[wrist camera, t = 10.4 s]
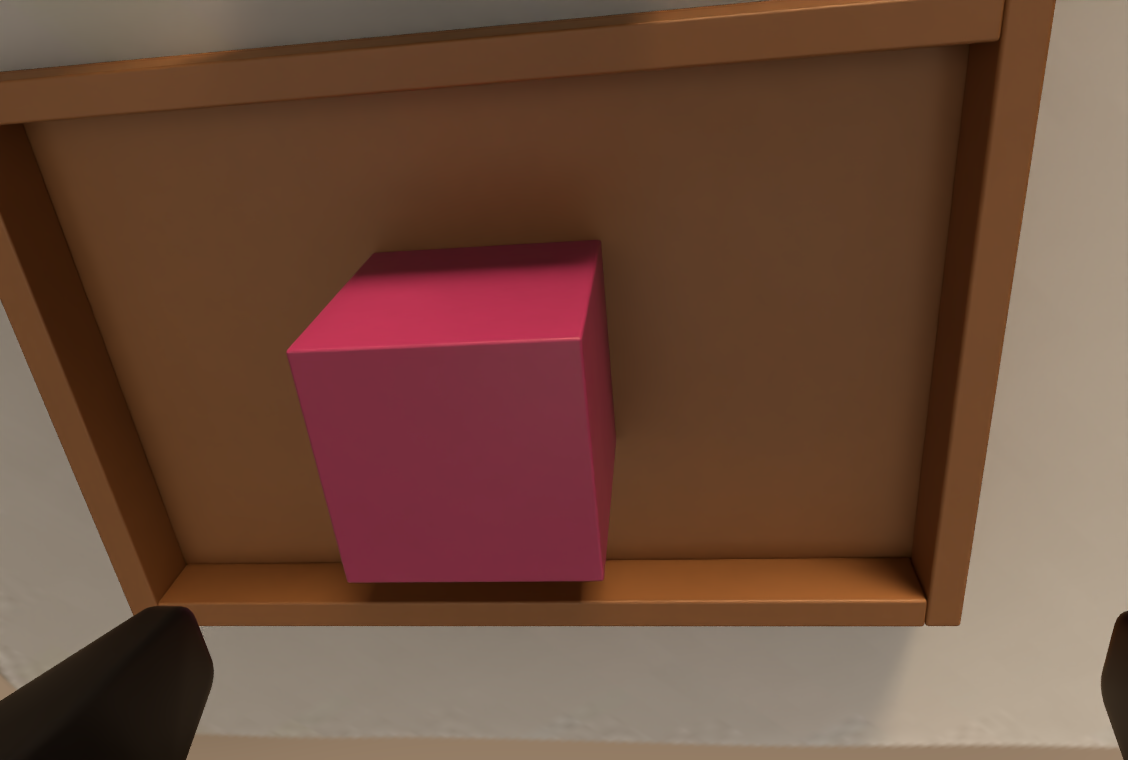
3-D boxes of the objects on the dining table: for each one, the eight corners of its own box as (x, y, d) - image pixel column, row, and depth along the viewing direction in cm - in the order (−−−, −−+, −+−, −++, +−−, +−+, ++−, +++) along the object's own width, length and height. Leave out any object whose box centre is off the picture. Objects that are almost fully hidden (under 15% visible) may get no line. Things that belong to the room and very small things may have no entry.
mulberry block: (601, 238, 18) (581, 337, 14) (616, 441, 20) (604, 582, 16) (372, 251, 19) (284, 351, 14) (412, 447, 21) (346, 583, 17)
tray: (1013, -23, 16) (1060, -17, 14) (935, 568, 22) (961, 627, 20) (-14, 72, 18) (-90, 88, 16) (177, 574, 24) (137, 627, 23)
